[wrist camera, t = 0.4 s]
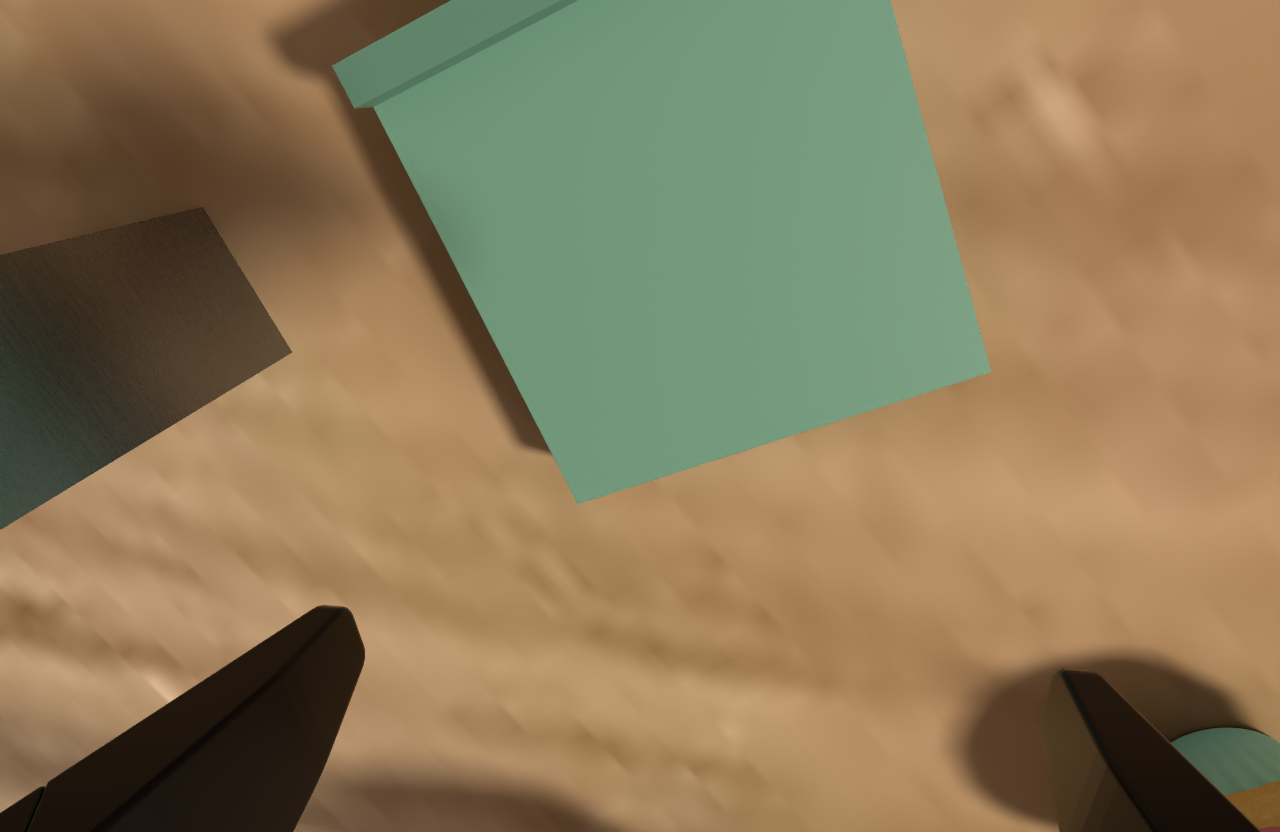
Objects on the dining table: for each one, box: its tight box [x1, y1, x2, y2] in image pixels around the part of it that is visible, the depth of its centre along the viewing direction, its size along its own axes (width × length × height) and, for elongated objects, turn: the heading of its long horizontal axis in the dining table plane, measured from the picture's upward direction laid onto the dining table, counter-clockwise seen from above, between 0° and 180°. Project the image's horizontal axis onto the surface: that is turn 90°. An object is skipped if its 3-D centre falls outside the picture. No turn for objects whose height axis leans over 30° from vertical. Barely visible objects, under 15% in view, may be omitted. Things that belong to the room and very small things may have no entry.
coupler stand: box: [332, 0, 991, 504], centre depth 19 cm, size 13×12×4 cm
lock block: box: [0, 207, 292, 530], centre depth 18 cm, size 5×5×13 cm
